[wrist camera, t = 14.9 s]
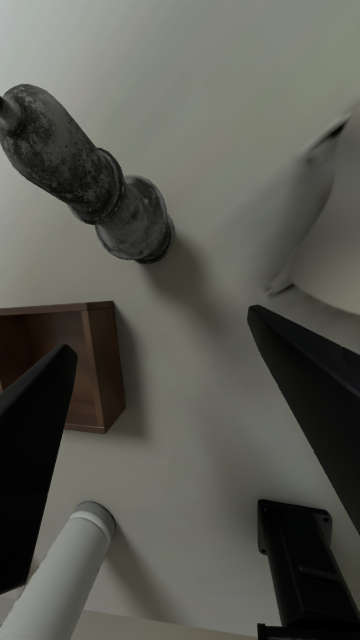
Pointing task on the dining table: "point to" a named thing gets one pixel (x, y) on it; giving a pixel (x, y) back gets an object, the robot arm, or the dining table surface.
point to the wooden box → (85, 339)
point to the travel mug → (62, 579)
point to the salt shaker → (83, 175)
